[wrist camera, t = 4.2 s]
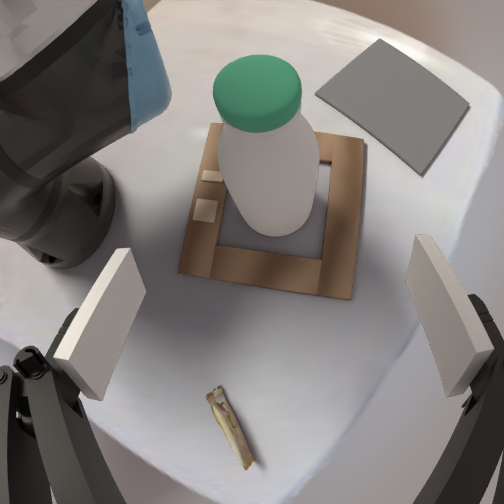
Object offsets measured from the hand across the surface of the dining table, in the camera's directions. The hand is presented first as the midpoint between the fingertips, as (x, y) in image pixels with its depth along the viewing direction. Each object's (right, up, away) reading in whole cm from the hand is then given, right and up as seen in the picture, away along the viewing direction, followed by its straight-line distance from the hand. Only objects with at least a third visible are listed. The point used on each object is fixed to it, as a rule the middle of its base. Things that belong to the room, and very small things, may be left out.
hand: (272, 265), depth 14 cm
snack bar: (-3, -18, +17) cm, 25 cm away
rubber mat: (+18, +21, +20) cm, 34 cm away
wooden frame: (+2, +6, +20) cm, 21 cm away
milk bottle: (+2, +6, +20) cm, 21 cm away
